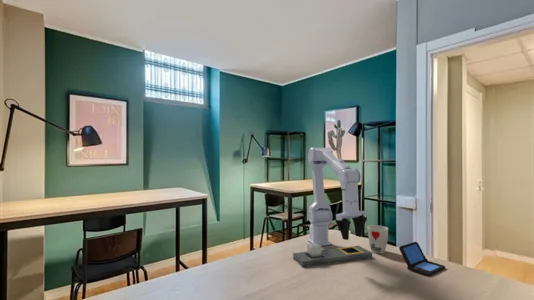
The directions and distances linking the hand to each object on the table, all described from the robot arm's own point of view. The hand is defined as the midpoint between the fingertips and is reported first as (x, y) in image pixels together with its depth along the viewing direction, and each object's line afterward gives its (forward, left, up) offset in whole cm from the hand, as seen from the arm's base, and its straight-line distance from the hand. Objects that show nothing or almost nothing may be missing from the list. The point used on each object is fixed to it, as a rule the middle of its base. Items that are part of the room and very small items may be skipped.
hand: (352, 237), depth 104 cm
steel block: (-8, -12, -10) cm, 17 cm away
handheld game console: (+10, +22, -10) cm, 27 cm away
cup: (-9, +18, -10) cm, 23 cm away
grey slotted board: (-8, -4, -10) cm, 13 cm away
